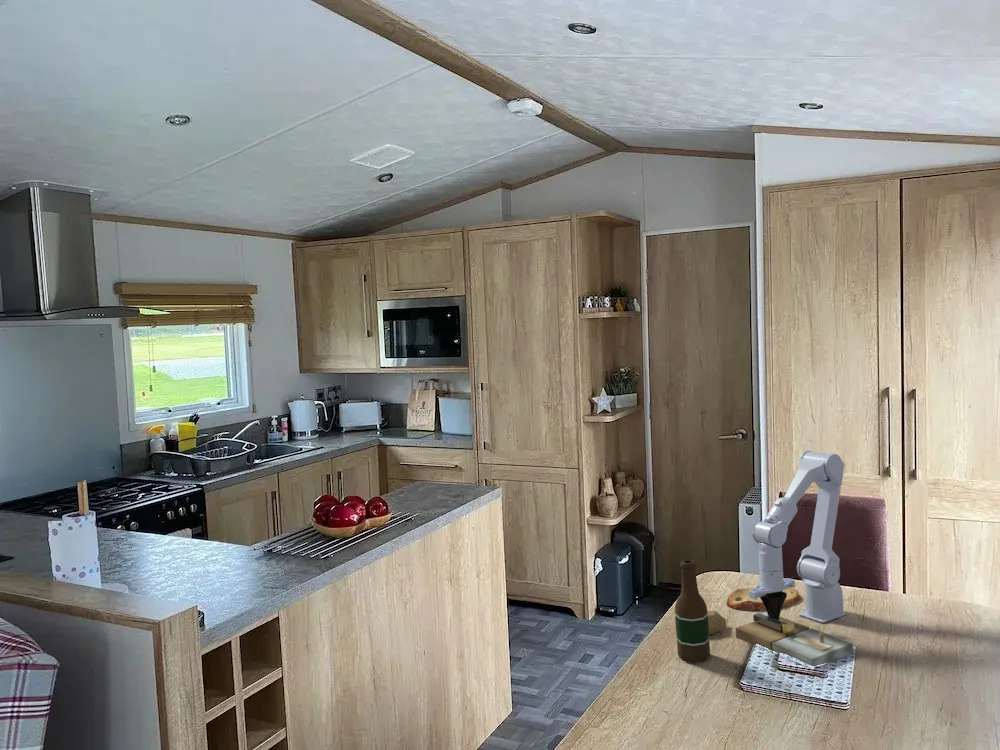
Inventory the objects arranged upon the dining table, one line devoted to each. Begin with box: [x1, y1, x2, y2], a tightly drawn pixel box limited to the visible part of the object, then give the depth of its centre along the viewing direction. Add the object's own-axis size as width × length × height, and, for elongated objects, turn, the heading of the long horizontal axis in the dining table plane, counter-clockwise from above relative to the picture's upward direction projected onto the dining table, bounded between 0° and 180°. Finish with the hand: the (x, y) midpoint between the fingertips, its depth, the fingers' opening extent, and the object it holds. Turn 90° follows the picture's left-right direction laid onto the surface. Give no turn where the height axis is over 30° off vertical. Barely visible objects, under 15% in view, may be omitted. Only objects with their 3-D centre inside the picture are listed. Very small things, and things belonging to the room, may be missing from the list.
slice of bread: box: [726, 587, 801, 612], centre depth 230 cm, size 18×18×4 cm
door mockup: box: [735, 616, 854, 666], centre depth 200 cm, size 14×24×5 cm, turn 29°
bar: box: [752, 612, 795, 636], centre depth 205 cm, size 12×3×3 cm, turn 29°
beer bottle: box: [674, 559, 711, 664], centre depth 197 cm, size 8×8×24 cm
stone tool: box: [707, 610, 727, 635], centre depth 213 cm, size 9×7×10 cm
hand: (774, 619), depth 208 cm, fingers closed
